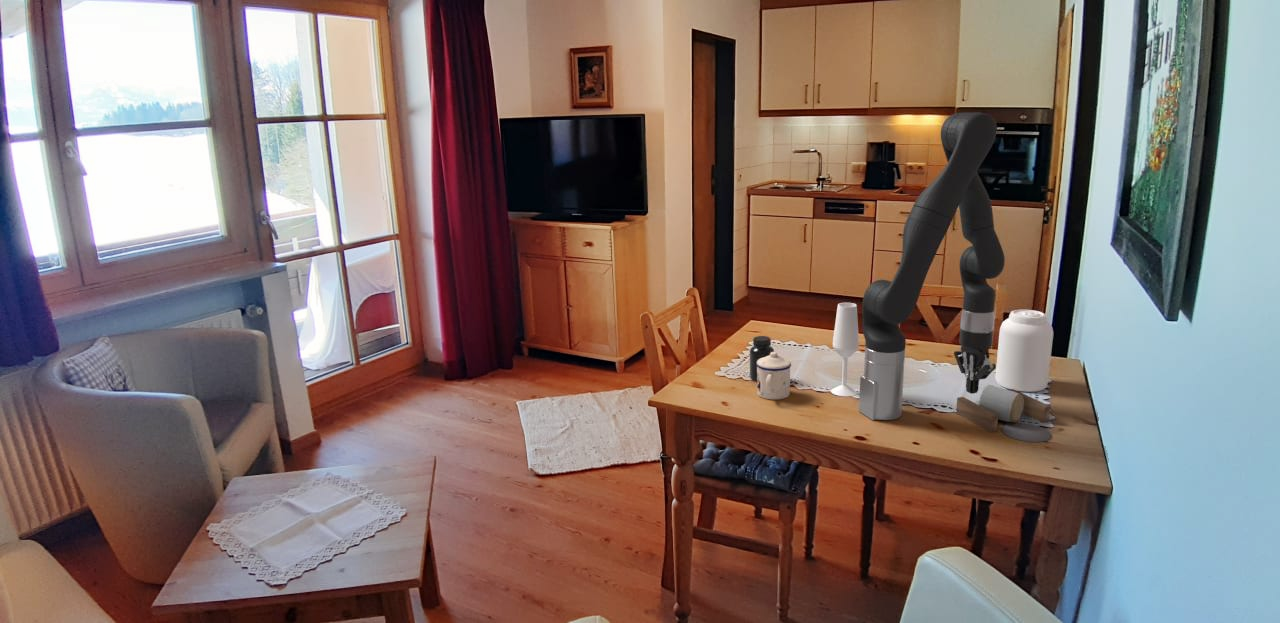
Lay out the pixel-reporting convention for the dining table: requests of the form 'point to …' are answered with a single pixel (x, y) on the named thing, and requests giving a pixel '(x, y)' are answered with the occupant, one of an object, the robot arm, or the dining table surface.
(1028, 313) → the white lidded jar
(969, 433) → the dining table surface
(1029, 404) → the holder
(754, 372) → the supplement bottle
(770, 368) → the teacup with lid
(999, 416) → the grey cylinder
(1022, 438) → the dark mat
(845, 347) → the champagne flute
